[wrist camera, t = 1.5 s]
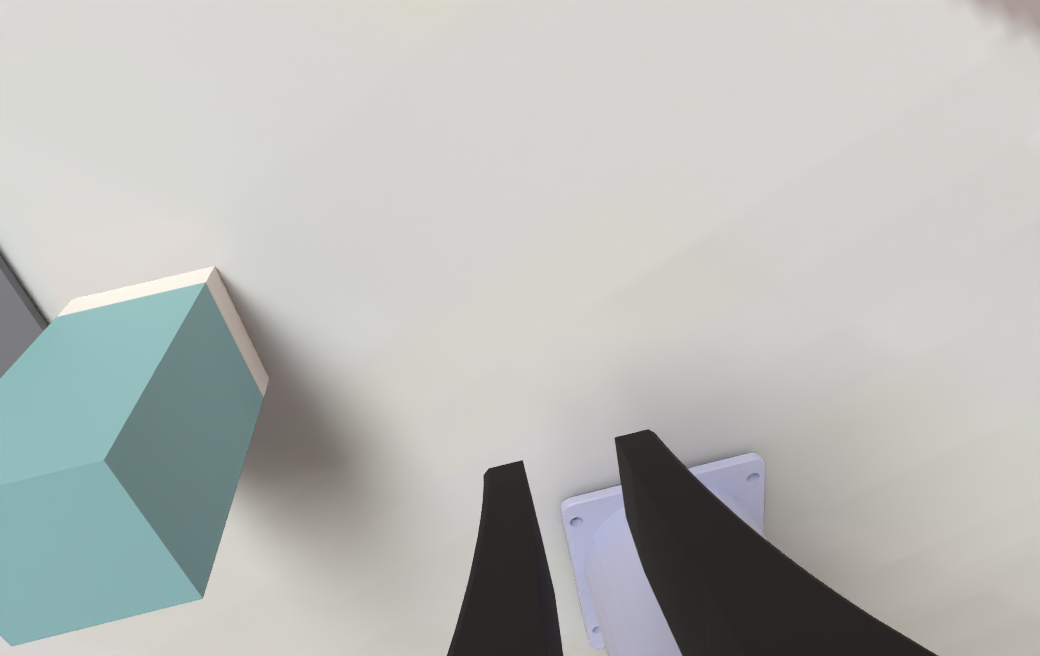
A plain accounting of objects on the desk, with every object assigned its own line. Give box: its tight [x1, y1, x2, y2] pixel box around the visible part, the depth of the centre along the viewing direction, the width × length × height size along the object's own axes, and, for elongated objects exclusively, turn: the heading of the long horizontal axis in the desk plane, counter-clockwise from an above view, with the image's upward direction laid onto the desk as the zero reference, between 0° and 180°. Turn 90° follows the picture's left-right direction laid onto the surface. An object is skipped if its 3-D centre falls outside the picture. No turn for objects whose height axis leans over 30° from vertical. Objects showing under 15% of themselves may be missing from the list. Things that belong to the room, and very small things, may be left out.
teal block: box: [0, 266, 269, 646], centre depth 16 cm, size 4×4×8 cm
